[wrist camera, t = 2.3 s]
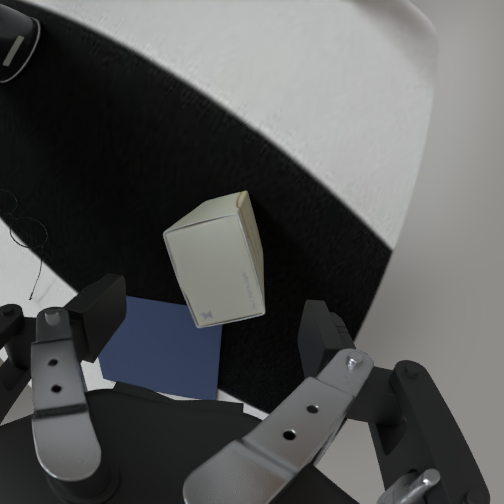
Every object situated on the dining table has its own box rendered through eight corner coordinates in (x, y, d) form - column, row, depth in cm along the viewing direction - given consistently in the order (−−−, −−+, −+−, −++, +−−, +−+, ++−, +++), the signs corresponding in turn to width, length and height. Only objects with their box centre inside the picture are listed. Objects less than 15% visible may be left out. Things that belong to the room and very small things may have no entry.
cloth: (104, 376, 34) (103, 378, 33) (88, 288, 29) (86, 289, 29) (216, 399, 34) (216, 401, 34) (223, 310, 30) (223, 312, 29)
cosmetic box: (263, 251, 28) (270, 318, 16) (219, 262, 28) (197, 332, 17) (247, 187, 26) (241, 210, 14) (200, 199, 26) (159, 232, 15)
